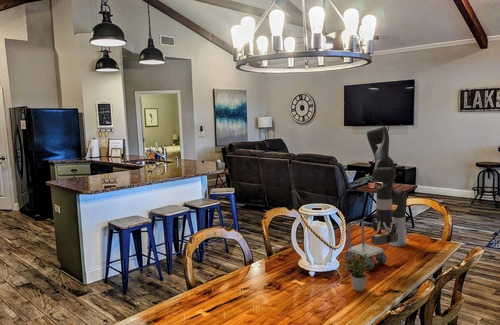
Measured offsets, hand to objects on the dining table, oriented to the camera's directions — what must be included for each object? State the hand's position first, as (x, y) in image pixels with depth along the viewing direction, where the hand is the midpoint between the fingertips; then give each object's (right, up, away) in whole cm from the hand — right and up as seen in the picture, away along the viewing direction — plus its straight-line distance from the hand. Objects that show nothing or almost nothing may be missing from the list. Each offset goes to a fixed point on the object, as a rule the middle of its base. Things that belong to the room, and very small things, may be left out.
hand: (384, 240), depth 192 cm
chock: (0, -1, 0) cm, 1 cm away
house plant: (-18, -18, -17) cm, 30 cm away
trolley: (-6, -14, +11) cm, 19 cm away
